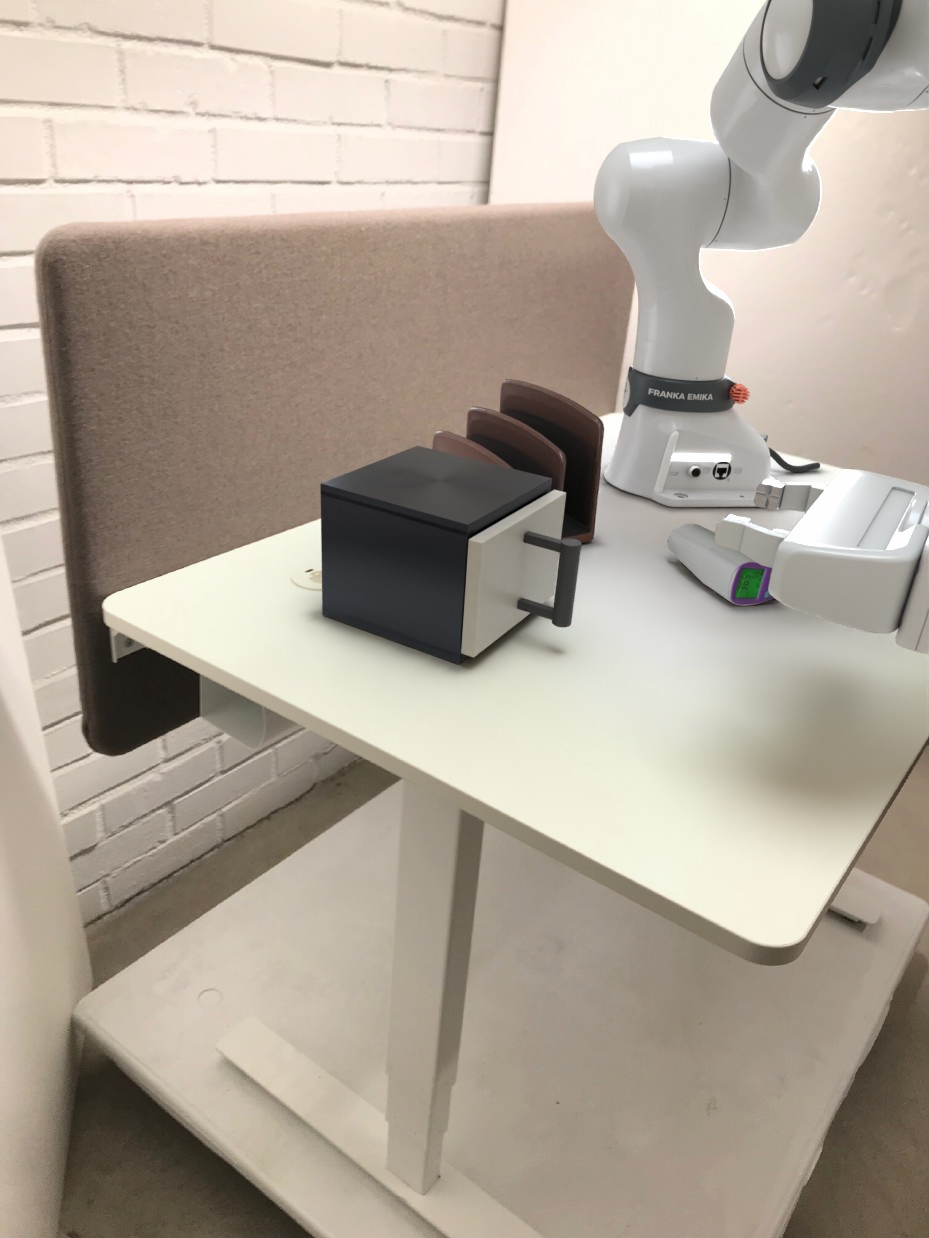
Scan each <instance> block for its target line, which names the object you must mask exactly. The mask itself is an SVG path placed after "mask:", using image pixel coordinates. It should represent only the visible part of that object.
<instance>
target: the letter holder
mask: <svg viewBox="0 0 929 1238" xmlns="http://www.w3.org/2000/svg"><path fill="white" fill-rule="evenodd" d="M604 438H605V425H604V422H603V420H602V419H601V418H600V417H599V416H598V415H596V414H595V413H593V412H592V411H591V410H589V409H587V408H586V407H584V406H583V405H581V404H580V403H578V402H577V401H575V400H573V399H571V398H569V397H567V396H565V395H563V394H561V393H558V392H556V391H554V390H552V389H548V388H546V387H543V386H540V385H537V384H535V383H531V382H528V381H524V380H519V379H518V380H517V379H512V378H506V379H504V380H502V381H501V385H500V395H499V411H498V410H494V409H491V408H487V407H482V406H478V405H473V406H471V407H469V409H467V415H466V430H465V437H464V436H462V435H460V434H456V433H453V432H451V431H449V430H442V429H441V430H440V429H437V430H436V431H435V432H434V434H433V437H432V445H431V449H433V450H437V451H441V452H445V453H450V454H454V455H458V456H462V457H466V458H470V459H474V460H478V461H482V462H487V463H491V464H495V465H499V466H503V467H507V468H511V469H515V470H520V471H524V472H528V473H532V474H536V475H540V476H544V477H548V478H552V484H551V491H553V490H558V491H562V492H566V500H565V508H564V517H563V525H562V534H561V540H563V539H568V538H570V539H576V540H579V541H580V542H581V544H584V543H585V544H586V543H591V542H592V541H593V540H594V537H595V531H596V521H597V510H598V501H599V500H598V499H599V490H600V484H601V483H600V482H601V473H602V456H603V446H604Z"/></svg>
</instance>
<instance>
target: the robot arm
mask: <svg viewBox="0 0 929 1238" xmlns="http://www.w3.org/2000/svg"><path fill="white" fill-rule="evenodd" d="M839 109H841V110H848V111H856V112H866V113H867V112H868V113H884V114H885V113H887V114H888V113H895V112H904V111H909V112H910V111H923V110H929V0H765V1H764V3H763V4H762V6H761V8H760V9H759V10H758V12H757V13H756V15H755V17H754V18H753V20H752V22H751V23H750V25H749V27H748V28H747V30H746V31H745V33H744V35H743V36H742V38H741V40H740V42H739V44H738V45H737V47H736V49H735V50H734V52H733V54H732V56H731V58H729V61H728V63H727V64H726V66H725V67H724V69H723V71H722V72H721V74H720V76H719V78H718V79H717V81H716V83H715V85H714V86H713V89H712V92H711V97H710V103H709V111H708V112H709V123H710V127H711V131H712V133H713V135H714V137H715V140H708V139H697V138H696V139H695V138H682V137H668V136H657V137H649V138H641V139H635V140H631V141H625V142H620V143H618V144H617V145H615V146H614V147H613V148H612V149H611V151H609V153H608V154H607V155H606V157H605V158H604V160H603V161H602V163H601V165H600V167H599V169H598V172H597V174H596V177H595V180H594V185H593V194H592V195H593V207H594V211H595V216H596V218H597V220H598V223H599V225H600V227H601V228H602V230H603V231H604V232H605V234H606V235H607V236H608V237H609V239H611V240H612V241H613V242H614V243H615V245H617V247H618V248H619V249H620V251H621V252H622V254H623V255H624V257H625V259H626V260H627V263H628V265H629V267H630V270H631V272H632V275H633V278H634V282H635V286H636V292H637V300H638V302H637V303H638V305H637V309H638V310H637V323H636V324H637V325H636V336H635V345H634V353H633V361H632V364H631V365H629V367H628V371H627V376H626V377H625V382H624V390H623V398H622V411H623V416H622V420H621V425H620V428H619V432H618V435H617V439H616V442H615V445H614V448H613V452H612V454H611V457H610V458H609V459H610V460H609V462H608V464H607V466H606V468H605V470H604V472H603V477H604V478H605V480H606V482H608V483H609V484H611V485H612V486H614V487H616V488H617V489H620V490H622V491H625V492H627V493H630V494H634V495H636V496H640V497H644V498H647V499H650V500H652V501H654V502H656V503H658V504H660V505H662V506H666V507H671V508H672V507H673V508H710V507H711V508H716V507H717V508H718V507H720V508H721V507H722V508H725V507H727V508H728V507H731V508H733V507H734V508H735V507H736V508H737V507H741V508H744V507H746V508H747V507H751V508H752V507H754V508H755V507H757V508H761V509H762V508H763V509H766V510H771V511H775V512H777V511H778V510H779V509H781V510H786V511H796V512H802V513H804V514H803V515H802V517H801V518H800V519H799V520H798V522H797V523H796V524H795V525H794V526H793V527H792V529H791V530H790V531H789V530H784V529H780V528H773V529H772V530H771V529H768V528H765V527H763V526H760V525H758V524H755V523H752V518H749V517H745V516H740V515H739V516H737V515H735V514H732V513H729V514H726V515H725V516H723V518H721V519H720V520H719V521H718V522H717V523H716V526H715V527H716V528H715V532H714V533H715V537H714V540H715V542H716V544H717V545H719V546H722V547H726V548H730V549H734V550H738V551H740V552H741V553H743V554H744V555H746V556H747V557H749V558H751V559H752V560H754V561H755V562H757V563H759V564H760V565H762V566H766V567H770V568H772V573H771V577H770V582H769V587H768V591H769V593H770V595H771V596H773V597H774V599H775V600H776V601H778V602H779V603H781V604H782V605H784V606H785V607H787V608H789V609H792V610H794V611H797V612H800V613H803V614H806V615H809V616H812V617H815V618H818V619H821V620H823V621H824V620H825V621H827V622H831V623H834V624H836V625H840V626H844V627H847V628H848V627H849V628H851V629H853V630H858V631H860V632H861V631H862V632H866V633H871V634H877V635H881V634H882V635H886V634H887V635H889V634H892V633H894V632H895V631H896V634H895V637H894V642H895V644H896V645H897V646H898V647H900V648H901V649H905V650H908V651H911V652H916V653H919V654H924V655H929V485H924V484H922V483H918V482H914V481H911V480H906V479H903V478H898V477H894V476H890V475H886V474H882V473H878V472H873V471H870V470H865V469H864V470H863V469H853V468H852V469H851V468H850V469H849V468H848V469H847V468H846V469H841V470H840V471H839V472H838V473H837V474H836V476H835V477H834V478H833V479H832V481H831V482H830V483H829V484H825V483H821V482H814V481H813V482H812V481H810V482H809V481H807V482H806V481H804V482H801V481H800V482H799V481H798V482H797V481H795V482H794V481H793V482H792V481H791V482H790V481H789V482H784V481H781V480H778V479H777V478H776V477H774V475H772V474H771V468H772V467H771V464H772V463H771V462H772V461H771V458H772V460H773V461H774V462H775V463H777V465H778V466H779V467H781V468H782V469H783V470H785V471H788V472H791V473H805V472H810V471H814V470H819V469H820V468H821V463H820V462H811V463H807V464H802V465H792V464H790V463H788V462H787V461H785V460H784V458H783V457H782V456H781V455H780V454H779V453H777V451H775V450H774V449H772V448H771V447H769V445H768V443H767V442H768V437H769V435H767V434H762V433H758V431H757V430H756V429H755V428H754V426H752V424H750V423H749V421H747V419H745V417H743V415H742V414H741V413H740V412H738V410H737V409H736V408H734V405H735V404H737V405H738V404H739V405H742V404H745V403H746V401H749V398H750V396H751V395H750V394H751V392H750V391H749V389H748V388H747V387H746V386H745V385H744V384H742V383H737V382H736V381H735V380H733V378H731V377H730V376H728V375H727V374H726V369H727V363H728V357H729V353H730V347H731V342H732V337H733V331H734V327H735V321H736V315H735V310H734V307H733V304H732V302H731V299H729V297H728V296H727V295H726V294H725V293H724V292H723V291H722V290H721V289H719V288H718V287H716V285H714V284H712V283H711V282H709V280H708V281H707V280H706V279H705V278H704V277H703V273H702V269H701V251H702V250H712V251H732V252H750V253H751V252H757V251H766V250H772V249H777V248H782V247H787V246H792V245H793V244H796V243H797V242H798V241H799V240H801V239H802V238H803V237H804V235H805V234H806V233H807V232H808V230H809V229H810V228H811V227H812V226H813V223H814V221H815V220H816V218H817V215H818V212H819V210H820V206H821V202H822V195H823V194H822V191H823V188H822V179H821V175H820V172H819V169H818V167H817V165H816V163H815V161H814V159H812V157H811V156H809V152H810V150H811V148H812V146H813V145H814V143H815V142H816V140H817V139H818V137H819V136H820V135H821V133H822V132H823V130H824V129H825V128H826V127H827V125H828V124H829V122H830V121H831V120H832V119H833V117H834V115H835V114H836V113H838V110H839Z"/></svg>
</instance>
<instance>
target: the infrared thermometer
mask: <svg viewBox="0 0 929 1238" xmlns="http://www.w3.org/2000/svg"><path fill="white" fill-rule="evenodd" d="M714 537H715V532H714V531H713V530H710V529H708V528H706V527H703V526H702V525H699V524H696V523H685V524H681V525H679V526H677V527H676V528H674V529H672V531H671V532H670V533H669V535H668V537H667V540H666V545H667V548H668V550H669V551H670V553H671V554H673V555H674V556H675V557H676V558H677V559H678V560H679V561H680V562H681V563H682V564H683V565H684V566H685V567H686V568H687V569H688V570H689V571H690V572H691V573H692V574H693V575H694V577H696V578H697V579H698V580H699V581H700V582H701V583H702V584H703V585H705V586H706V587H708V588H710V589H711V590H712V591H714V592H715V593H717V594H719V595H720V596H722V597H723V598H724V599H726V600H727V601H729V602H730V603H732V604H734V605H736V606H741V607H742V606H743V607H744V606H754V605H759V604H763V603H766V602H769V601H772V600H774V599H775V598H774V597H773V596H771V595H770V593H769V591H768V587H769V582H770V577H771V573H772V568H770V567H766V566H762V565H760V564H759V563H757V562H755V561H754V560H752V559H751V558H749V557H747V556H746V555H744V554H743V553H741V552H740V551H738V550H734V549H730V548H726V547H722V546H719V545H717V544H716V542H715V540H714Z"/></svg>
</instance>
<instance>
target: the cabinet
mask: <svg viewBox="0 0 929 1238" xmlns="http://www.w3.org/2000/svg"><path fill="white" fill-rule="evenodd" d="M551 484H552V478H548V477H544V476H540V475H536V474H532V473H528V472H524V471H520V470H515V469H511V468H507V467H503V466H499V465H495V464H491V463H487V462H482V461H478V460H474V459H470V458H466V457H462V456H458V455H454V454H450V453H445V452H441V451H437V450H433V449H432V448H429V447H424V446H420V445H415V446H413V447H410V448H408V449H405V450H403V451H400V452H397V453H395V454H393V455H390V456H388V457H387V456H386V457H385V458H382V459H380V460H377V461H375V462H372V463H368V464H367V465H364V466H362V467H359V468H357V469H354V470H352V471H349V472H345V473H344V474H341V475H339V476H336V477H334V478H333V477H332V478H331V479H329V480H325V481H323V482H321V483H320V485H319V486H320V487H319V489H320V490H319V491H320V493H319V495H320V542H321V543H320V544H321V545H320V546H321V547H320V549H321V553H320V554H321V615H322V616H324V617H327V618H329V619H332V620H335V621H337V622H340V623H343V624H346V625H349V626H352V627H354V628H357V629H359V630H363V631H365V632H368V633H371V634H374V635H376V636H379V637H381V638H384V639H387V640H390V641H393V642H396V643H399V644H401V645H404V646H407V647H409V648H412V649H415V650H418V651H420V652H423V653H426V654H428V655H431V656H433V657H434V656H435V657H437V658H439V659H442V660H445V661H448V662H451V663H454V664H456V665H460V664H462V663H463V662H465V660H467V659H468V658H470V656H467V655H465V654H462V653H461V648H462V633H463V618H464V603H465V588H466V573H467V558H468V543H469V539H470V538H472V537H474V533H475V532H477V531H479V530H481V529H482V528H484V527H486V526H488V525H489V524H496V523H498V522H499V521H501V520H503V519H505V518H506V517H508V516H510V515H512V514H513V513H515V512H517V511H518V510H520V509H522V508H524V507H525V506H527V505H529V504H531V503H532V502H534V501H536V500H537V499H539V498H541V497H543V496H544V495H546V494H548V493H550V492H551Z"/></svg>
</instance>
